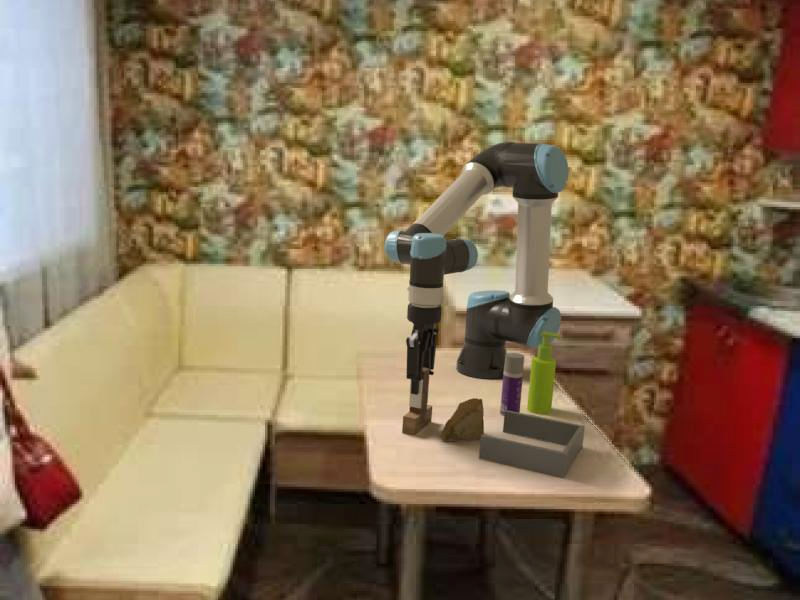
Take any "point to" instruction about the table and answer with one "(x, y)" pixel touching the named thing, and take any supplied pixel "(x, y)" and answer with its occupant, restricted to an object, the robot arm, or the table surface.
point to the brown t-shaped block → (419, 411)
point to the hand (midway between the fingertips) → (418, 404)
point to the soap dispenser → (542, 377)
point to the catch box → (531, 454)
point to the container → (512, 383)
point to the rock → (465, 422)
